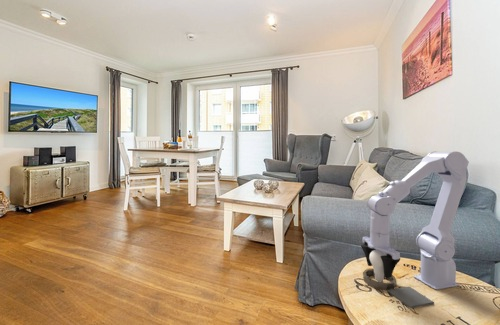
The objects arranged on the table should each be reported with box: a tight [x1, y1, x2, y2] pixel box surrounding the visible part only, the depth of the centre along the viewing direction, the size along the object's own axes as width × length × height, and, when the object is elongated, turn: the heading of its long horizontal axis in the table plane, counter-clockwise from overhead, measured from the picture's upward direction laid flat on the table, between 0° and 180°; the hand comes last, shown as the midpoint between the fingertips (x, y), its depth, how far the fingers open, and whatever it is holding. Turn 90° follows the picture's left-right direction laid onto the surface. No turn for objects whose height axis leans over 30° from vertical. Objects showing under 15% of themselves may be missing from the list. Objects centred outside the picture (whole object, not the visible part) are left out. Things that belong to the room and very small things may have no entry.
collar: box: [362, 268, 397, 291], centre depth 79 cm, size 10×10×2 cm
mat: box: [387, 286, 434, 309], centre depth 71 cm, size 8×8×1 cm
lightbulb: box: [369, 249, 386, 282], centre depth 79 cm, size 6×6×11 cm
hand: (379, 270), depth 79 cm, fingers open, 7 cm apart
